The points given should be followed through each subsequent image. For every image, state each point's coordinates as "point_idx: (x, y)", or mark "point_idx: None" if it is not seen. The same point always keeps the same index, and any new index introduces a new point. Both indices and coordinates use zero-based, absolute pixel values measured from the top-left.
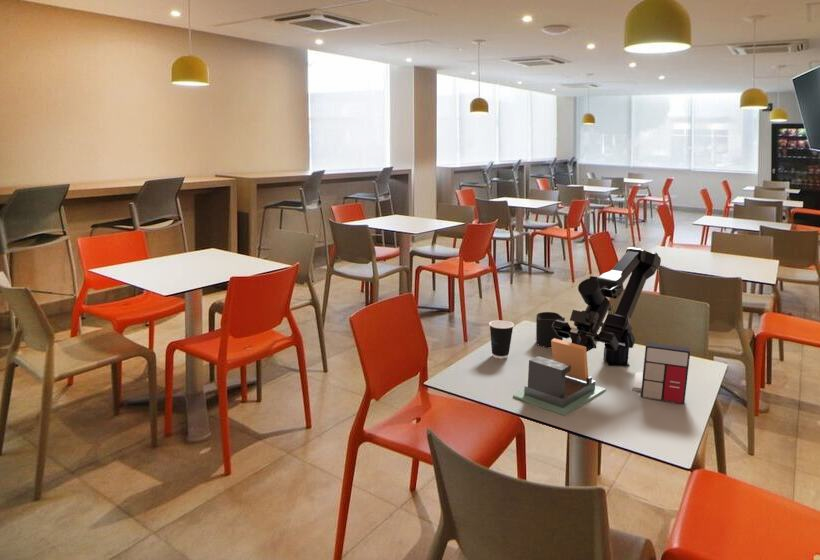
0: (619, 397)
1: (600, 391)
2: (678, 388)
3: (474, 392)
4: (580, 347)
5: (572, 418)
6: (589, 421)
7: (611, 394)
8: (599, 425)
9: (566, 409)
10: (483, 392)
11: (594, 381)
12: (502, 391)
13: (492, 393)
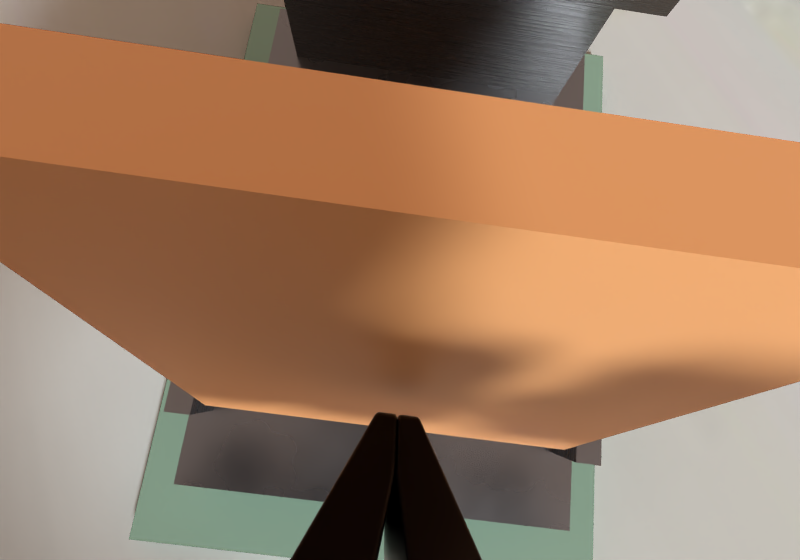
0: (12, 473)
1: (154, 453)
2: None
3: (780, 12)
4: (31, 69)
5: (212, 9)
6: (119, 24)
7: (81, 490)
8: (56, 10)
9: (267, 51)
10: (748, 36)
11: (179, 464)
12: (685, 101)
13: (707, 50)
